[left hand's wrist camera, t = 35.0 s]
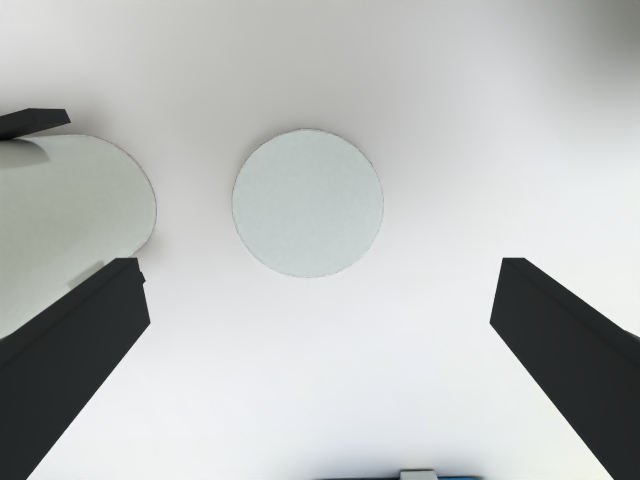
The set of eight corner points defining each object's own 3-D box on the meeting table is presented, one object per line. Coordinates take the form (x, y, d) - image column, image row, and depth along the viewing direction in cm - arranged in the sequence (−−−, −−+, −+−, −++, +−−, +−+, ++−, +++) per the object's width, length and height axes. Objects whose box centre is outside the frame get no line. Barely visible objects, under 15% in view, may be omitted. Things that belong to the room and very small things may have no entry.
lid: (384, 131, 25) (391, 132, 23) (372, 267, 29) (377, 279, 27) (234, 126, 25) (226, 127, 23) (240, 265, 29) (235, 277, 27)
